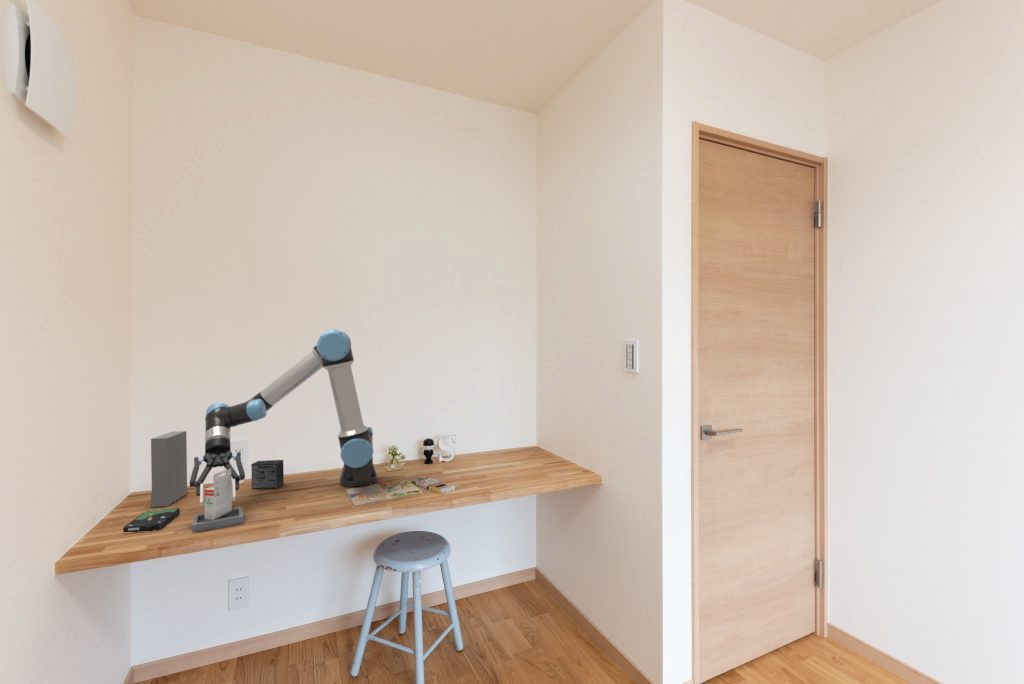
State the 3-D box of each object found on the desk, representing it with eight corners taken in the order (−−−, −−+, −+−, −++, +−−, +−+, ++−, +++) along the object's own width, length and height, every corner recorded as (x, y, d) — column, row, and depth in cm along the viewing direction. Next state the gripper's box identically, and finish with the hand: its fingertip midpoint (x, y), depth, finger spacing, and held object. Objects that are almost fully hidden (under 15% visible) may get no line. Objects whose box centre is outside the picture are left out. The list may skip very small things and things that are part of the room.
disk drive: (161, 532, 148) (180, 515, 162) (161, 523, 148) (180, 507, 162) (122, 536, 145) (145, 518, 159) (122, 527, 145) (145, 510, 159)
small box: (284, 484, 195) (284, 459, 195) (278, 489, 188) (277, 463, 188) (258, 485, 194) (258, 459, 194) (250, 490, 187) (250, 464, 187)
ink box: (203, 519, 150) (203, 474, 150) (222, 510, 158) (222, 467, 158) (214, 520, 149) (213, 474, 149) (232, 511, 157) (232, 468, 157)
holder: (242, 514, 161) (242, 506, 161) (243, 523, 153) (243, 515, 153) (193, 522, 154) (193, 515, 154) (192, 533, 145) (192, 525, 145)
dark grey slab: (170, 495, 182) (169, 431, 182) (187, 494, 183) (186, 430, 183) (149, 508, 168) (148, 439, 168) (167, 506, 169) (166, 438, 169)
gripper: (251, 444, 172) (254, 500, 158) (182, 452, 161) (179, 513, 147) (252, 433, 167) (255, 489, 154) (180, 440, 156) (177, 501, 143)
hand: (218, 501), depth 150 cm, fingers open, 8 cm apart
